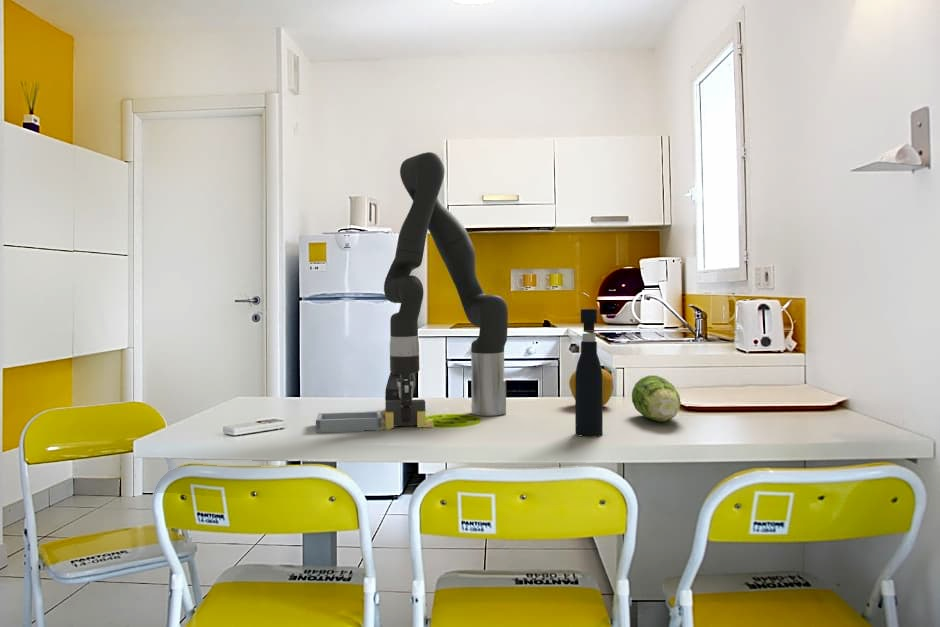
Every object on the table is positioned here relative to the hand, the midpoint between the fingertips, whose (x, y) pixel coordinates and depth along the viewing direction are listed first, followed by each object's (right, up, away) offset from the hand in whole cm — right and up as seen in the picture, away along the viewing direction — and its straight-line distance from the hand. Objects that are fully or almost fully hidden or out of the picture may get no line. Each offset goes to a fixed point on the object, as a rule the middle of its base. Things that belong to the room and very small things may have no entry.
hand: (405, 420), depth 180 cm
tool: (-3, -1, +18) cm, 19 cm away
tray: (-14, -2, -2) cm, 14 cm away
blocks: (0, -1, 0) cm, 1 cm away
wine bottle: (+45, -2, -12) cm, 47 cm away
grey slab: (0, -1, 0) cm, 1 cm away
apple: (+52, 0, +27) cm, 59 cm away
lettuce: (+66, -1, +4) cm, 66 cm away
